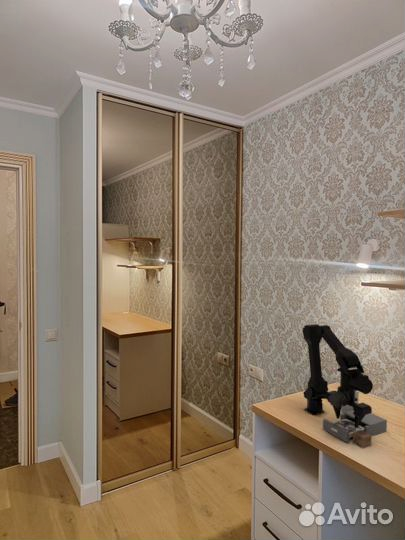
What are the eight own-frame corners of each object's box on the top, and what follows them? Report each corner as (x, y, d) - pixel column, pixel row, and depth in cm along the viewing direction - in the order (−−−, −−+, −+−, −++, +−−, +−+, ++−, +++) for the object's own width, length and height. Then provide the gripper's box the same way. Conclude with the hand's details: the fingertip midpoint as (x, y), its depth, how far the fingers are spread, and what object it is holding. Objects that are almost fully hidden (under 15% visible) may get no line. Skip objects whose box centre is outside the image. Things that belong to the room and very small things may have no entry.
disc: (333, 426, 152) (333, 422, 152) (345, 422, 155) (345, 418, 155) (347, 434, 146) (347, 429, 146) (359, 430, 149) (359, 425, 149)
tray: (322, 429, 153) (322, 419, 153) (343, 422, 158) (343, 413, 158) (346, 442, 142) (346, 432, 142) (368, 435, 147) (368, 425, 147)
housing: (340, 424, 158) (340, 413, 158) (359, 418, 163) (360, 408, 163) (366, 437, 146) (366, 426, 146) (386, 431, 152) (386, 419, 152)
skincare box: (353, 414, 168) (354, 387, 167) (358, 418, 163) (359, 391, 163) (340, 414, 167) (341, 388, 167) (345, 419, 163) (345, 391, 162)
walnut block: (352, 442, 143) (353, 432, 142) (361, 440, 145) (361, 429, 144) (362, 448, 139) (363, 437, 138) (370, 445, 141) (371, 435, 140)
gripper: (315, 380, 154) (315, 417, 155) (352, 396, 137) (351, 437, 138) (335, 376, 159) (334, 412, 160) (373, 391, 143) (372, 431, 143)
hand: (346, 423), depth 150 cm, fingers open, 9 cm apart
